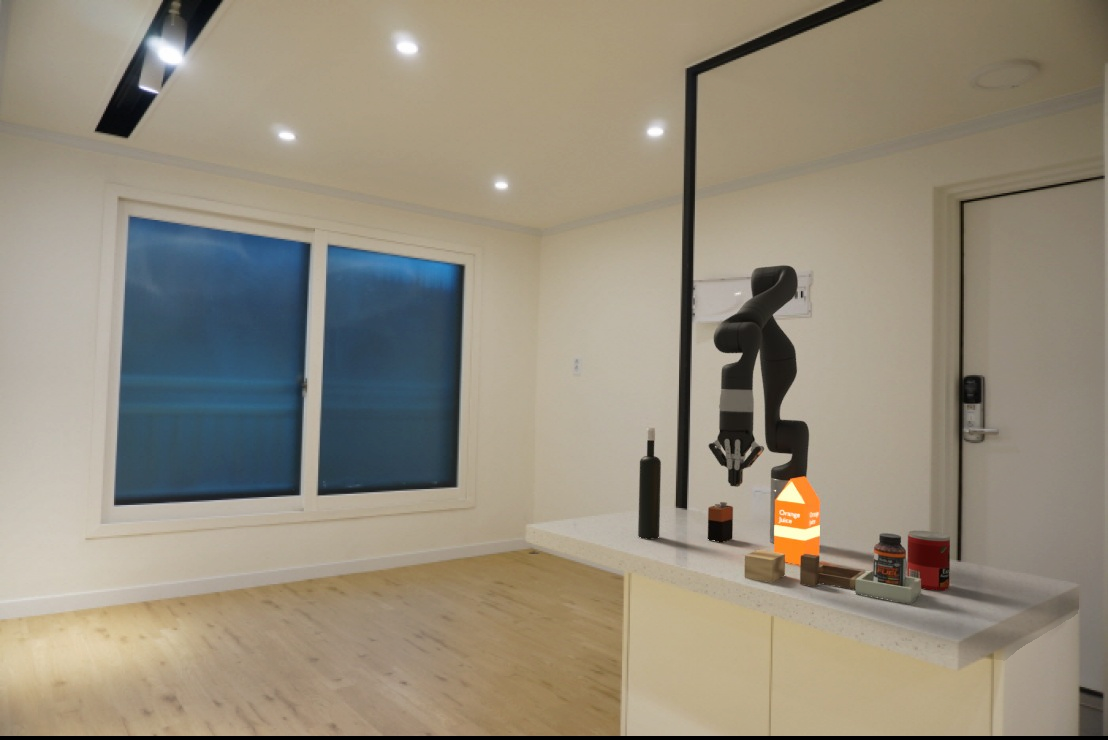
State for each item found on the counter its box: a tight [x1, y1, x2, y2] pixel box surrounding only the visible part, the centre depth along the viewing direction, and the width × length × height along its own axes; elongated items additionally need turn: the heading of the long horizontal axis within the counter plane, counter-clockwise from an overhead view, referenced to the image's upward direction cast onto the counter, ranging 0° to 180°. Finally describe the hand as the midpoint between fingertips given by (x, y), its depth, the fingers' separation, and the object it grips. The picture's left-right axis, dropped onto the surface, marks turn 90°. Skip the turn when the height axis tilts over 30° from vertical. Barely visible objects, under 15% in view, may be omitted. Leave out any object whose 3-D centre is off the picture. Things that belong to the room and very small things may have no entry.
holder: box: [819, 563, 866, 590], centre depth 151 cm, size 9×9×2 cm
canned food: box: [906, 530, 951, 592], centre depth 150 cm, size 8×8×11 cm
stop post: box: [799, 553, 820, 588], centre depth 148 cm, size 3×3×6 cm
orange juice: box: [773, 476, 821, 566], centre depth 170 cm, size 8×9×20 cm
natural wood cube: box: [743, 549, 786, 584], centre depth 153 cm, size 8×6×5 cm
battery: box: [707, 501, 734, 543], centre depth 192 cm, size 4×7×10 cm, turn 139°
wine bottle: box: [637, 427, 662, 540], centre depth 193 cm, size 6×6×30 cm
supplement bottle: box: [872, 532, 907, 587], centre depth 142 cm, size 6×6×11 cm
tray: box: [854, 570, 922, 605], centre depth 142 cm, size 10×10×3 cm
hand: (735, 485), depth 159 cm, fingers closed
